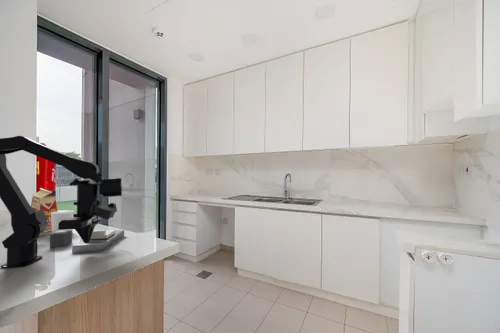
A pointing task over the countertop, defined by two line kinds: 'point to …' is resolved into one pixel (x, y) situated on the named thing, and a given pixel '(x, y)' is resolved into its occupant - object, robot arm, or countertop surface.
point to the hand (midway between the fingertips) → (86, 242)
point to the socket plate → (97, 243)
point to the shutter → (102, 234)
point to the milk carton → (45, 204)
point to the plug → (60, 238)
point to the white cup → (60, 218)
